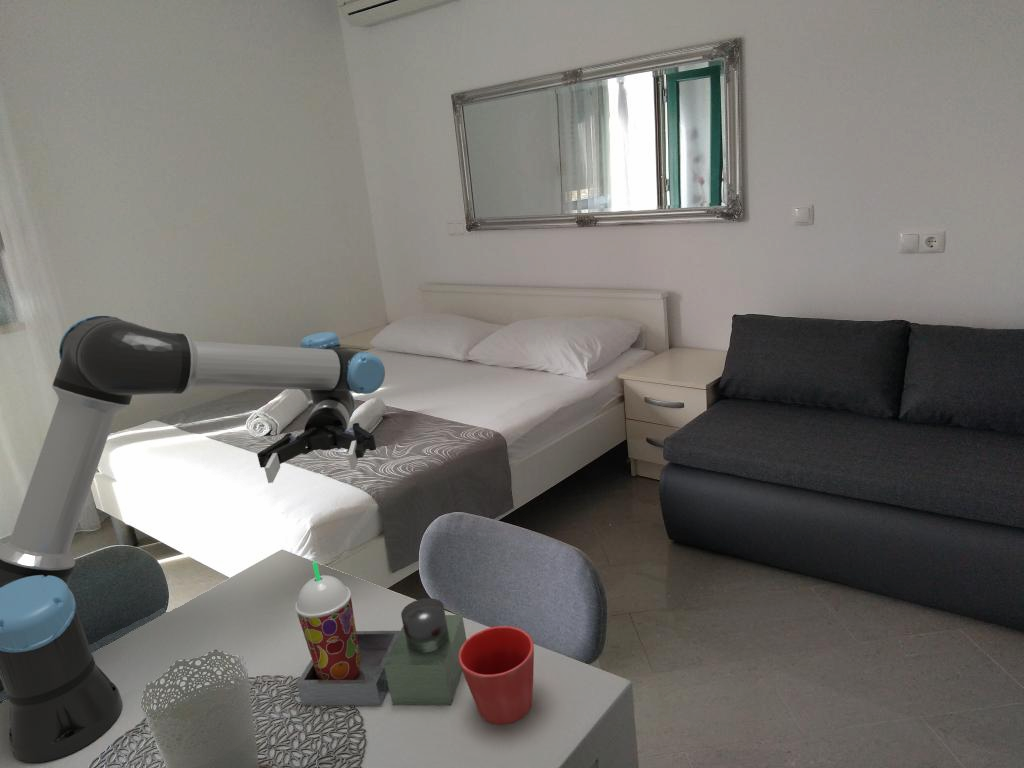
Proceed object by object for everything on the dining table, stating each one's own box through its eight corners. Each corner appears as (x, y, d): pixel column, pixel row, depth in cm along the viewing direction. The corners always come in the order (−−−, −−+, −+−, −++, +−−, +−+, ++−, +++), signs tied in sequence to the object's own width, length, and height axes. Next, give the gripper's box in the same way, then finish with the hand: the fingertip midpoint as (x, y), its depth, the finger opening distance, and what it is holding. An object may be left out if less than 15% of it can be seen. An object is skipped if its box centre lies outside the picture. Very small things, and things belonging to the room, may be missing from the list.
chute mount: (302, 705, 115) (285, 638, 111) (333, 651, 126) (319, 589, 123) (450, 706, 110) (437, 636, 107) (469, 651, 122) (457, 586, 118)
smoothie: (333, 654, 124) (307, 546, 118) (377, 661, 121) (353, 550, 115) (303, 689, 117) (274, 576, 111) (349, 697, 114) (322, 580, 108)
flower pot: (453, 723, 107) (443, 665, 104) (491, 673, 116) (482, 619, 113) (520, 742, 102) (511, 682, 99) (553, 689, 111) (546, 632, 108)
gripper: (395, 433, 147) (389, 477, 127) (266, 453, 145) (239, 501, 125) (388, 397, 145) (381, 435, 124) (257, 417, 143) (228, 459, 123)
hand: (310, 468), depth 125 cm, fingers open, 13 cm apart
